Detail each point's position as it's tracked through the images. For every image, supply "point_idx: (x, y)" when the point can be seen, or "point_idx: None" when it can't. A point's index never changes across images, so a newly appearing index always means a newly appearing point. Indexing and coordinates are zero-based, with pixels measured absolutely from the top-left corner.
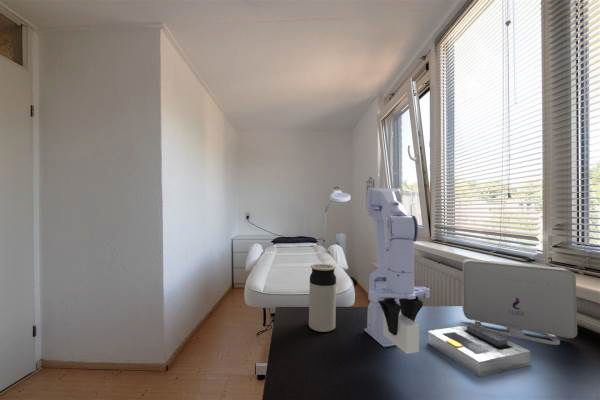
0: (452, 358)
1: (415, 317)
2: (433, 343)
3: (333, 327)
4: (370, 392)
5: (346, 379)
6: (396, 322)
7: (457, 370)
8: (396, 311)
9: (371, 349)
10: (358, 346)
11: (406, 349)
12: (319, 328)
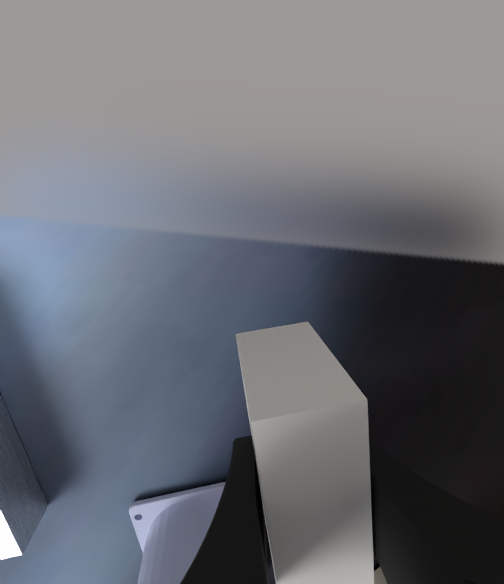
0: (4, 411)
1: (216, 519)
2: (32, 494)
3: (380, 576)
4: (410, 263)
5: (451, 323)
6: (379, 466)
7: (30, 347)
8: (463, 531)
9: None
10: None
11: (313, 330)
12: None
